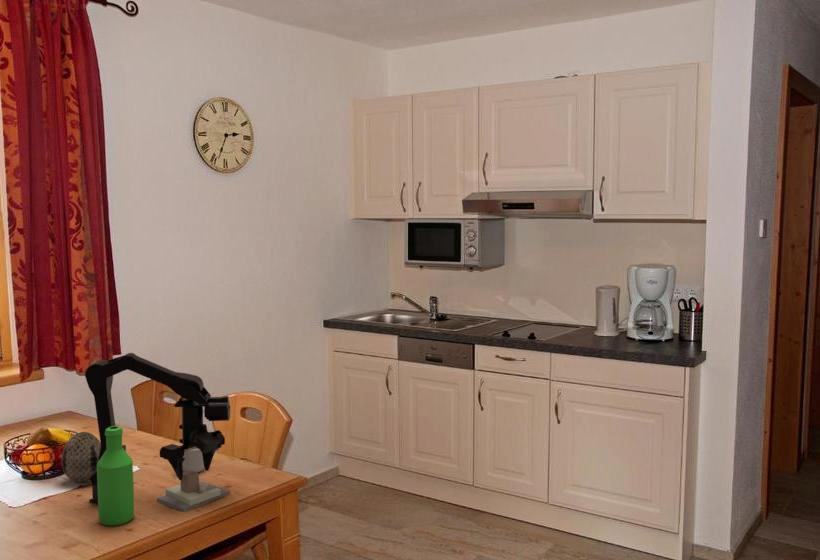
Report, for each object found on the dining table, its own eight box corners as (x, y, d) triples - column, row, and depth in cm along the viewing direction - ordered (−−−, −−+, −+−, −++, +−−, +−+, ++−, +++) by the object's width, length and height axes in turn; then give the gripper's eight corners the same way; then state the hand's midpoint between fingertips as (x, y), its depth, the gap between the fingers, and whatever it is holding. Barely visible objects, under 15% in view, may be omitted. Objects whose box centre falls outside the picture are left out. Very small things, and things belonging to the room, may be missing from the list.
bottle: (112, 530, 194) (109, 434, 192) (91, 522, 199) (88, 429, 196) (141, 518, 202) (138, 426, 199) (120, 510, 206) (117, 421, 204)
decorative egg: (54, 482, 227) (52, 433, 225) (91, 471, 236) (89, 424, 235) (75, 491, 220) (73, 441, 218) (112, 480, 229) (111, 431, 228)
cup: (183, 479, 230) (182, 454, 229) (167, 474, 235) (166, 448, 234) (212, 469, 239) (211, 445, 238) (196, 464, 243) (195, 440, 243)
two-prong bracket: (190, 505, 208) (189, 482, 207) (165, 494, 215) (164, 472, 215) (220, 494, 215) (220, 472, 215) (195, 484, 223) (195, 463, 222)
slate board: (184, 511, 206) (184, 497, 206) (156, 501, 213) (156, 487, 212) (230, 493, 219) (229, 480, 219) (202, 484, 226) (202, 471, 225)
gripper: (183, 434, 201) (185, 491, 203) (237, 418, 217) (238, 471, 218) (157, 427, 208) (159, 482, 209) (211, 412, 223) (212, 463, 224)
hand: (193, 475), depth 215 cm, fingers open, 9 cm apart
